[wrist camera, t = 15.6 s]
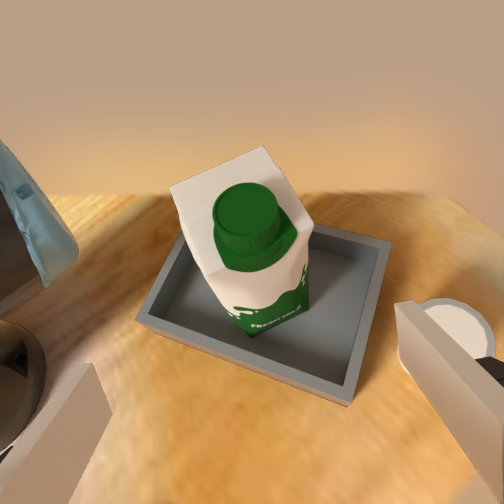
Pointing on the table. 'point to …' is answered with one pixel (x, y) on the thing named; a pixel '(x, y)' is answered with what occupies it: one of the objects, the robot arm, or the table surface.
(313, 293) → the bin
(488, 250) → the table surface
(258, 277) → the soya milk
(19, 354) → the robot arm
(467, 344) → the white round container
